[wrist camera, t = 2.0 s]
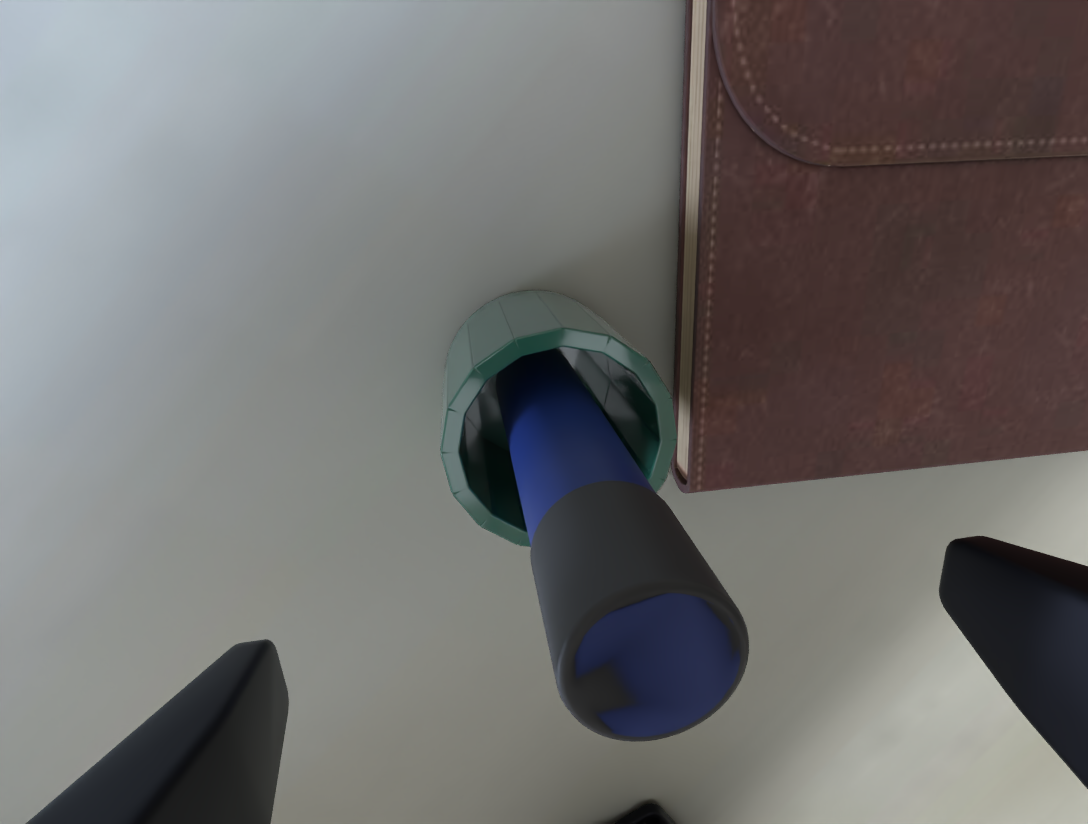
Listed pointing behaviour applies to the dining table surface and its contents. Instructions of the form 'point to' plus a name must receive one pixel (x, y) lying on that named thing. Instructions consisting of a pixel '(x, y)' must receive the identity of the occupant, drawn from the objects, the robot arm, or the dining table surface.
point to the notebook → (880, 237)
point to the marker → (613, 567)
